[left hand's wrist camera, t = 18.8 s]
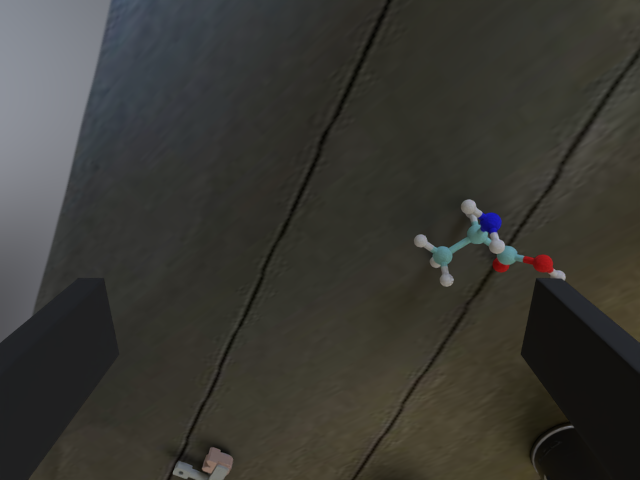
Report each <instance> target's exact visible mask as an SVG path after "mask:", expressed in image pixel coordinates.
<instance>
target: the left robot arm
mask: <svg viewBox="0 0 640 480" xmlns="http://www.w3.org/2000/svg"><path fill="white" fill-rule="evenodd" d="M118 355H119V350H118V345H117V341H116V336H115V331H114V326H113V321H112V316H111V311H110V306H109V302H108V297H107V292H106V287H105V282H104V278H78V279H77V280H76V281H75V282H73V283H72V284H71V285H70V286H68V287H67V288H66V289H65V290H64V291H62V292H61V293H60V294H59V295H58V296H56V297H55V298H54V299H53V300H52V301H50V302H49V303H48V304H47V305H46V306H44V307H43V308H42V309H41V310H40V311H38V312H37V313H36V314H35V315H33V316H32V317H31V318H30V319H29V320H27V321H26V322H25V323H24V324H23V325H21V326H20V327H19V328H18V329H17V330H15V331H14V332H13V333H12V334H11V335H9V336H8V337H7V338H6V339H5V340H3V341H2V342H1V343H0V480H28V479H29V478H30V476H31V475H32V474H33V472H34V471H35V469H36V468H37V467H38V465H39V464H40V463H41V461H42V460H43V458H44V457H45V456H46V454H47V453H48V452H49V450H50V449H51V447H52V446H53V445H54V443H55V442H56V441H57V439H58V438H59V436H60V435H61V434H62V432H63V431H64V430H65V428H66V427H67V425H68V424H69V423H70V421H71V420H72V419H73V417H74V416H75V414H76V413H77V412H78V410H79V409H80V408H81V406H82V405H83V403H84V402H85V401H86V399H87V398H88V397H89V395H90V394H91V392H92V391H93V390H94V388H95V387H96V386H97V384H98V383H99V381H100V380H101V379H102V377H103V376H104V375H105V373H106V372H107V370H108V369H109V368H110V366H111V365H112V364H113V362H114V361H115V359H116V358H117V357H118ZM521 355H522V357H523V358H524V359H525V361H526V362H527V364H528V365H529V366H530V368H531V369H532V370H533V372H534V373H535V375H536V376H537V377H538V379H539V380H540V381H541V383H542V384H543V386H544V387H545V388H546V390H547V391H548V392H549V394H550V395H551V397H552V398H553V399H554V401H555V402H556V403H557V405H558V406H559V408H560V409H561V410H562V412H563V413H564V414H565V416H566V417H567V419H568V420H569V421H570V423H571V424H572V425H573V427H574V428H575V430H576V431H577V432H578V434H579V435H580V436H581V438H582V439H583V441H584V442H585V443H586V445H587V446H588V447H589V449H590V450H591V452H592V453H593V454H594V456H595V457H596V458H597V460H598V461H599V463H600V464H601V465H602V467H603V468H604V469H605V471H606V472H607V474H608V475H609V476H610V478H611V479H612V480H640V343H639V342H638V341H637V340H635V339H634V338H633V337H632V336H631V335H629V334H628V333H627V332H626V331H625V330H623V329H622V328H621V327H620V326H619V325H617V324H616V323H615V322H614V321H613V320H611V319H610V318H609V317H608V316H607V315H605V314H604V313H603V312H602V311H600V310H599V309H598V308H597V307H596V306H594V305H593V304H592V303H591V302H590V301H588V300H587V299H586V298H585V297H584V296H582V295H581V294H580V293H579V292H578V291H576V290H575V289H574V288H573V287H572V286H570V285H569V284H568V283H567V282H565V281H564V280H563V279H562V278H536V282H535V287H534V292H533V297H532V302H531V306H530V311H529V316H528V321H527V326H526V331H525V336H524V341H523V345H522V350H521Z"/></svg>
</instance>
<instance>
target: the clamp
mask: <svg viewBox="0 0 640 480" xmlns="http://www.w3.org/2000/svg"><path fill="white" fill-rule="evenodd" d="M220 451H221V450H219V449H217V448H214V447H211V448H210V451H209V454H208V455H206V457H205V460H204V464H203V467H202V469H203V471H205V472H208V474H206V473H203V472H200V471H197V470H195V469H192V467H193V466H192V465H189V464H187V463H184V462H181V461H178V462H177V464H176V466H175V469H174V472H173V474H174V475H176V476H179V477H182V478H185V479H187V478H188V477H190V478H193V479H196V480H224V477H225V476H226V475H228V473H229V471H230V470H231V467H232V463H233V458H232V456H230V455H228V454H226V453H222V452H220Z"/></svg>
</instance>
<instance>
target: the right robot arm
mask: <svg viewBox="0 0 640 480" xmlns="http://www.w3.org/2000/svg"><path fill="white" fill-rule="evenodd" d="M531 462H532V464H533V466H534V468H535V470H536V471H537V473H538V474H539V475H540V477H541V479H542V480H612V479H611V478H610V476H609V475H608V474H607V472H606V471H605V469H604V468H603V467H602V465H601V464H600V463H599V461H598V460H597V458H596V457H595V456H594V454H593V453H592V452H591V450H590V449H589V447H588V446H587V445H586V443H585V442H584V441H583V439H582V438H581V436H580V435H579V434H578V432H577V431H576V430H575V428H574V427H573V425H572V424H571V423H566V424H562V425H559V426H556V427H554V428H552V429H550V430H548V431H546V432H545V433H544V434H542V435H541V436H540V437H539V438H538V439H537V441H536V442H535V443H534V445H533V447H532V450H531Z"/></svg>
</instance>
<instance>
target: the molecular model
mask: <svg viewBox="0 0 640 480" xmlns="http://www.w3.org/2000/svg"><path fill="white" fill-rule="evenodd" d="M461 209H462V211H463V212H464V213H466V216H467V217H469V218H470V220H471V224H472V226H471V227H470V228H469V229H468V231H467V237H466V238H464V239H463V240H461V241H459V242H458V243H456V244H455V245H453V246H451V247H450V248H447V247H444V246H441V247H438V248H436V247H435V246H433V245H432V244H430V243H429V242H427V238H426V237H425V236H424V235H421V234H420V235H417V236H416V237H415V239H414V243H415V245H416V246H418V247H425V248H426V249H427V250H429V251H430V252H432V253H433V257H432V258H431V259H430V264H431V265H432V266H433V267H435V268H438V267H440V266H441V270H442V276H441V277H440V283H441V284H442V285H443V286H446V287H448V286H451V285H452V284H453V280H454V279H453V277H452V276H451V275H450V274H449V271H448V266H447V264H448V263H450V261H451V260H452V253H454V252H456V251H457V250H459V249H460V248H462V247H464V246H465V245H467V244H469V243H470V242H472V243H474V244H480V243H485V244H486V245H487V246H489V249H490V251H491V252H492V253H495V254H497V258H496V259H494V261H493V268H494V269H495V270H496V271H497V272H505V271H507V270H508V268H509V265H510V264H513V263H514V262H515V261H519V262H524V263H528V264H532V265H533V266H534V268H535V269H536V270H537V271H539V272H548V273H549V274H550V278H562V279H563V280H564V281H565V278H566V277H565V274H564V273H563V272H562V271H559V270H555V269H554V268H552V266H553V262H552V259H551V258H550V257H549V256H547V255H538V256H537V257H535V258H532V257H527V256H522V255H518V254H517V251H516V250H515V249H514V248H513V247H511V246H505V244H504V242H503V241H502V240H499V237H498V233H497V230H498V229H499V228H500V227H501V218H500V217H499V216H498V215H497V214H495V213H487V214H484V213H483V212H481V211H480V210H479V209H478V208H477V207H476V204H475V202H474V201H472V200H465V201H464V202H463V203H462V204H461ZM477 218H479V219H480V225H478V220H477ZM487 232H489V233H490V237H491V240H490V239H489V238H488V237H487V236H488V233H487Z"/></svg>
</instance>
